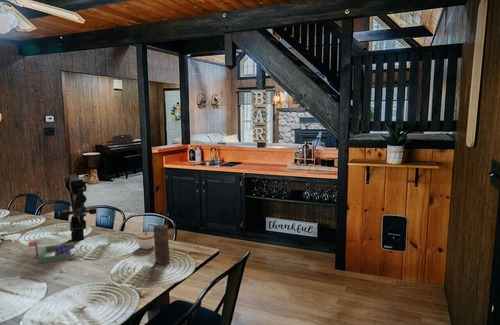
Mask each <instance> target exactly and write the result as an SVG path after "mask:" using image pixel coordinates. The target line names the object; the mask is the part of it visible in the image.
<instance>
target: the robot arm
mask: <svg viewBox="0 0 500 325" xmlns="http://www.w3.org/2000/svg"><path fill="white" fill-rule="evenodd" d="M63 185H64V186H63V187H64V188H65V191H66V193H67V194H68V195H69V200H70V206H71V210H70V209H64V210H61V213H60V217H61V218H67V217H68V216H70V215H72V216H71V218H70V221H69V231H70V232H71V233H70V234H71V236H70V237H71V240H72V241H73V242H74V241H83V240H84V239H85V232H84V230H86V229H87V221H86V220H85V219H84V218H85V217H87V214H90V215H96V214H97V213H98V209H97V207H96V206H94V207H89V208H88V209H87V206H85V203H86V202H87V197H86V195H85V194H84V192H87V190H88V189H87V184H86V182H85V180H83V179H82V178H79V177H78V174H76V173H74V174H67V177H66V178H65V179H64V181H63Z"/></svg>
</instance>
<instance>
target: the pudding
mask: <svg viewBox="0 0 500 325" xmlns="http://www.w3.org/2000/svg"><path fill="white" fill-rule="evenodd" d="M58 245H59V246H57V247H56V250H54V251H55V252H53V253H51V254H50V256H55V255H62V254H70V253H71V256H72V255H74V254H75V253H76V251H75V250H73V249H71V248H69V246H68V245H61V244H58Z"/></svg>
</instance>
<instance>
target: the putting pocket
mask: <svg viewBox="0 0 500 325" xmlns="http://www.w3.org/2000/svg"><path fill="white" fill-rule="evenodd" d="M27 245H28V247H29V248H30V247H35V255H34V257H33V258H34V259H38V264H43V263H48V262H57V261H62V260H69V259H70V260H71V259H72V255H71V253H70V254H62V255H55V256H51V255H49V256H46V255H47V252H52V251H56V247H57V246H59V245H68V246H69V249H74V248H75V243H74V242H71V243H63V244H55V245H47V246H44V247H43V249H42V251H41V253H40V254H39V251H38V242H37V241H31V242H27Z"/></svg>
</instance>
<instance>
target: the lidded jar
mask: <svg viewBox="0 0 500 325" xmlns="http://www.w3.org/2000/svg"><path fill="white" fill-rule="evenodd" d="M136 241H137V244H138V246H139V247H140V248H141V249H142V250H149V249H151V248H153V246H155V243H154V231H143V232H139V233H138V234H136Z"/></svg>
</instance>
